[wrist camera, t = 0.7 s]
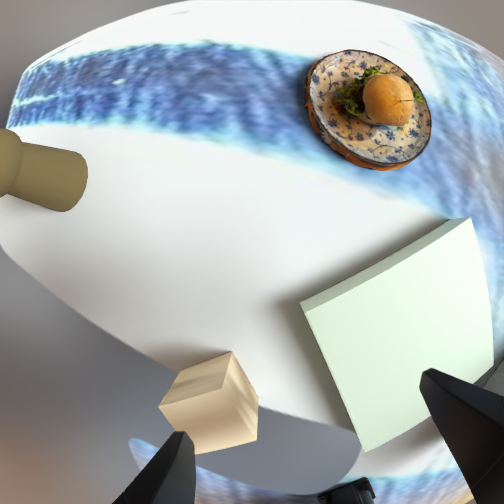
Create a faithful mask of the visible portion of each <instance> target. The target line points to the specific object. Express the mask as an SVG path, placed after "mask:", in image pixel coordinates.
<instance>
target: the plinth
mask: <svg viewBox="0 0 504 504" xmlns="http://www.w3.org/2000/svg"><path fill="white" fill-rule="evenodd" d="M299 303H300V305H301V308H302V310H303V312H304V314H305V316H306V319H307V321H308V323H309V325H310V327H311V330H312V332H313V334H314V336H315V339H316V341H317V343H318V345H319V348H320V350H321V352H322V354H323V357H324V359H325V361H326V363H327V366H328V368H329V370H330V373H331V375H332V377H333V379H334V382H335V384H336V386H337V389H338V391H339V393H340V396H341V398H342V400H343V403H344V405H345V408H346V410H347V412H348V415H349V417H350V419H351V422H352V424H353V427H354V429H355V431H356V434H357V436H358V438H359V441H360V443H361V445H362V447H363V450H364V452H365V453H366V452H368V451H370V450H372V449H374V448H376V447H378V446H380V445H382V444H384V443H386V442H388V441H390V440H392V439H394V438H395V437H397V436H399V435H401V434H402V433H404V432H406V431H408V430H409V429H411V428H412V427H414V426H416V425H417V424H419V423H420V422H422V421H424V420H425V419H427V418H428V417H430V416H431V415H430V412H429V410H428V408H427V405H426V403H425V401H424V399H423V396H422V394H421V392H420V389H419V384H420V380H421V375H422V372H423V371H425V370H427V369H429V368H434V369H437V370H439V371H441V372H444V373H446V374H449V375H451V376H454V377H456V378H459V379H461V380H464V381H466V382H469V383H471V384H473V383H474V382H476V381H477V380H478V379H479V378H480V377H481V376H482V375H483V374H485V373H486V372H487V371H488V370H489V369H490V368H491V367H492V366H493V365H494V356H493V333H492V320H491V311H490V303H489V296H488V289H487V283H486V278H485V272H484V267H483V263H482V258H481V254H480V250H479V246H478V242H477V238H476V235H475V231H474V228H473V224H472V221H471V218H459V219H450V220H449V221H447V222H445V223H444V224H442V225H441V226H439V227H437V228H436V229H434V230H433V231H431V232H429V233H428V234H426V235H424V236H423V237H421V238H419V239H418V240H416V241H414V242H413V243H411V244H409V245H407V246H406V247H404V248H402V249H401V250H399V251H397V252H395V253H394V254H392V255H390V256H388V257H386V258H385V259H383V260H381V261H379V262H377V263H376V264H374V265H372V266H370V267H368V268H366V269H365V270H363V271H361V272H359V273H357V274H355V275H353V276H351V277H349V278H347V279H346V280H344V281H342V282H340V283H338V284H336V285H334V286H332V287H330V288H328V289H326V290H324V291H322V292H320V293H318V294H316V295H314V296H312V297H310V298H307V299H305V300H303V301H301V302H299Z"/></svg>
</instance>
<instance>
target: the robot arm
mask: <svg viewBox="0 0 504 504" xmlns="http://www.w3.org/2000/svg"><path fill="white" fill-rule="evenodd" d="M419 389H420V392H421V394H422V396H423V399H424V401H425V403H426V405H427V408H428V410H429V412H430V415H431V417H432V419H433V421H434V423H435V424H436V426H437V428H438V430H439V431H440V433H441V435H442V437H443V438H444V440H445V442H446V444H447V446H448V447H449V449H450V451H451V453H452V455H453V457H454V458H455V460H456V462H457V464H458V466H459V468H460V470H461V472H462V474H463V476H464V478H465V480H466V482H467V484H468V486H469V488H470V490H471V492H472V494H473V496H474V499H475V501H476V503H477V504H504V396H503V395H500V394H497V393H494V392H492V391H489V390H487V389H484V388H481V387H479V386H476V385H474V384H471V383H469V382H466V381H464V380H461V379H459V378H456V377H454V376H451V375H449V374H446V373H444V372H441V371H439V370H437V369H434V368H429V369H427V370H425V371H423V372H422V375H421V380H420V384H419ZM195 487H196V468H195V446H194V443H193V441H192V440H191V438H190V437H189V435H188V434H187V433H186V432H185V431H175V432H173V434H172V435H171V436H170V437H169V439H168V440H167V441H166V442H165V443H164V445H163V446H162V447H161V448H160V449H159V451H158V452H157V453H156V454H155V456H154V457H153V458H152V459H151V460H150V461H149V463H148V464H147V465H146V466H145V467H144V469H143V470H142V471H141V472H140V473H139V474H138V476H137V477H136V478H135V479H134V480H133V482H131V484H130V485H129V486H128V487H127V488H126V489H125V492H122V494H121V495H120V496H119V497H118V498H117V499H116V500H115V501H114V502H113V503H112V504H194V499H195ZM317 498H318V501H319V502H320V503H321V504H374V501H373V499H374V498H375V494H374V492H373V489H372V487H371V485H370V482H369V480H368V478H364V479H361V480H359V481H356V482H354V483H352V484H349V485H347V486H344V487H341V488H339V489H336V490H333V491H330V492H327V493H325V494H322V495H319V496H318V497H317Z"/></svg>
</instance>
